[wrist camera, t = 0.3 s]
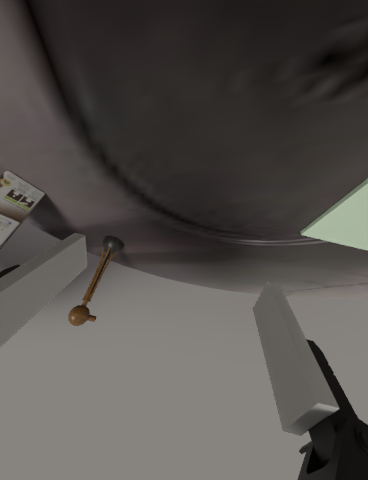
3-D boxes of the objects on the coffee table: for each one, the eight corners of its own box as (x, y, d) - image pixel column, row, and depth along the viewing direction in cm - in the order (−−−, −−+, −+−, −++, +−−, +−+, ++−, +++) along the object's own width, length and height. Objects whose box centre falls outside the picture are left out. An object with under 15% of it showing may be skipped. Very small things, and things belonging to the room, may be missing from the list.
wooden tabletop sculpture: (130, 246, 47) (95, 330, 37) (119, 248, 49) (84, 327, 39) (111, 234, 43) (67, 324, 33) (101, 237, 46) (57, 321, 35)
